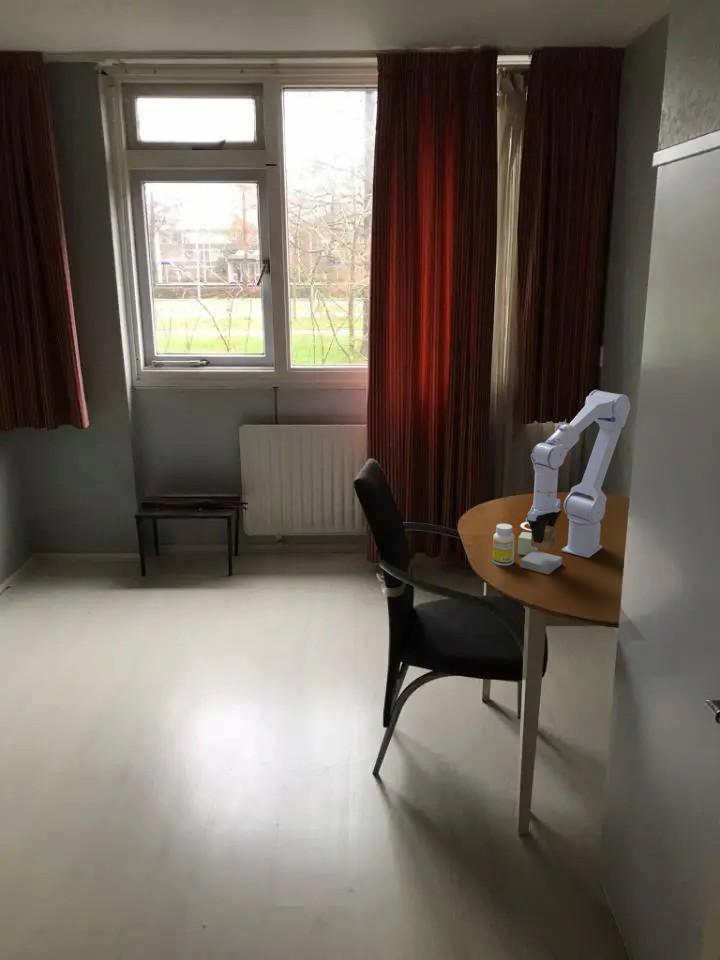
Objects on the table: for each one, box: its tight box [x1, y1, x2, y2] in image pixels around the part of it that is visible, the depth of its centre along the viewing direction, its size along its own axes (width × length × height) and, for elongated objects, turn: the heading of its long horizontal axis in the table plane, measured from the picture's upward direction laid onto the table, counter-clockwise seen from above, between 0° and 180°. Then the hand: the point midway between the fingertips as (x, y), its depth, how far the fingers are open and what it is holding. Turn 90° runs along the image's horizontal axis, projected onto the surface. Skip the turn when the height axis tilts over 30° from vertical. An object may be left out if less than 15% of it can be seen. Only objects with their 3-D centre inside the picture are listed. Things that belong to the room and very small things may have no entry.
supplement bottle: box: [492, 523, 516, 566], centre depth 204 cm, size 6×6×10 cm
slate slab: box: [519, 550, 563, 575], centre depth 203 cm, size 8×8×2 cm
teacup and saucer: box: [519, 518, 532, 532], centre depth 230 cm, size 9×8×4 cm
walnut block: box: [531, 525, 557, 551], centre depth 200 cm, size 4×4×5 cm
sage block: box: [517, 531, 539, 556], centre depth 211 cm, size 4×4×5 cm
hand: (542, 539), depth 201 cm, fingers closed on walnut block, 4 cm apart
